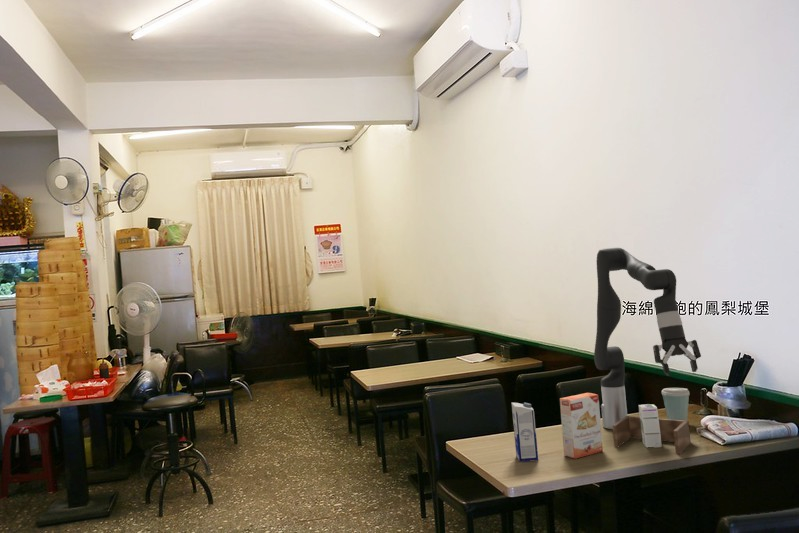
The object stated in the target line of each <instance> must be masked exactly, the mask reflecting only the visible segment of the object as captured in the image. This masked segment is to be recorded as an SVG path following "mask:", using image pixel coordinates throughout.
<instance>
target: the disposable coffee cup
mask: <svg viewBox="0 0 799 533" xmlns="http://www.w3.org/2000/svg"><path fill="white" fill-rule="evenodd" d="M661 395H662V399H663V404H664V407H665V408H664V409H665V413H666V419H671V420H684V421H688V411H689V399H690V398H689V397H690V395H691V394H690V391H689V389H688V388H684V387H666V388H662V390H661Z"/></svg>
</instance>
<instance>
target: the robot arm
mask: <svg viewBox="0 0 799 533" xmlns="http://www.w3.org/2000/svg"><path fill="white" fill-rule="evenodd" d="M621 270H623V271H624V270H625V271H627V275H629V277H631V278H632V279H633V280H636V281H638V283H641V284H642V286H643V287H644V288H645V289H647V290H649V291H660V290H662V291H663V292H662V295H660V296H657V297H655V298H654V299H653V305H654V310H655V314H656V322H657V323H656V324H657V326H658V332H659V334H660V335H659V336H660V340H661V344H655V345H653V346H652V348H653V349H652V350H653V355H654V362H655V363H656V364H661V366H662V369H663V370H662V371H663V374H665V375H666V376H670V375H671V371H670V367H669V364H668V361H669V359H670V357H674V356H682V355H683V356H685V357H687V359H689V363H690V367H691V372H692V373H697V370H698V364H697V359H700V358H701V357H702V355H701V351H700V347H699V344H698V341H697V340H696V339H694V340H690V341H688V340H687V339H686V335H685V331H684V327H683V326H684V325H683V321H682V318H681V315H680V313H679V309H678V305H677V301H676V299H677V296H676V295H677V277H676V274H675V273H674V272H673V270H671V269H667V268H665V269H663V268H662V269H656V268H655V267H654V266H653V265H651V264H649V263H646V262H643V261H642V260H639V259H638V258H636V257H635V256H634V255H632V254H631V253H630V252H628V251H627V250H625V249H624V248H622V247H607V248H601V249H598V252H597V253H596V275H597V302H596V335H595V343H594V354H593V359H594V360H593V361H594V364H595V367H596V369H597V370H599V371H610V372H609V373H608V374H606V375H605V376H603V377H602V378H601V379H600V387H601V388H600V389H601V390H600V391H601V398H602V403H601V405H600V408H601V409H600V410H601V420H602V427H603V428H606V429H608V430H613V425H614V424H615V423H617V422H618V421H620V420H621V419H623V418H624V417H626V416H628V408H627V400H626V399H627V398H626V397H627V396H626V388H625V379H626V374H625V373H626V372H625V358H624V353H623V350H622V348H621V347H619V346H609V345H608V344H609V341H610V337H611V336H612V334H613V332H614V331H615V329H616V328H617V326H618V324H619V323H620V321H621V314H622V312H621V311H622V304H621V299H620V297H619V295H618V293H617V292H616V291H615V290H614V288H613V286H612V284H611V279H610V272H614V271H615V272H616V271H621ZM688 346H689V347H690V348H691V349H692V352H693V353H692V352H691V351H690V350H688ZM662 350H663V351H664V354H663V356H662V359H661V351H662Z"/></svg>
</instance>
